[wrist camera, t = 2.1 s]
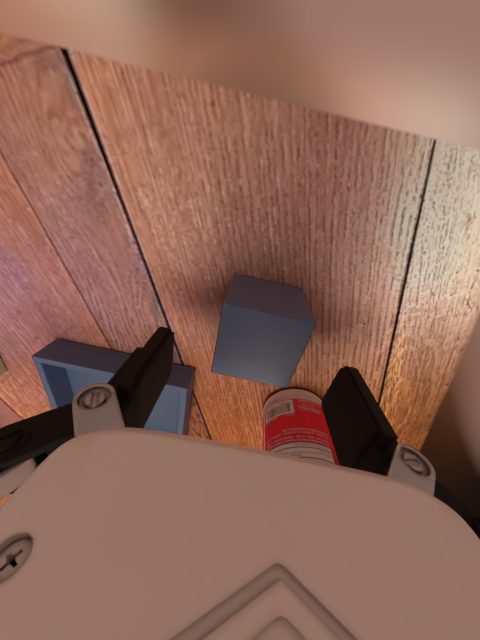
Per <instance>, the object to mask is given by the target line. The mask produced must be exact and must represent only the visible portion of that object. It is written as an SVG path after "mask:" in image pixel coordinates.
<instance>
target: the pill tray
mask: <svg viewBox="0 0 480 640" xmlns="http://www.w3.org/2000/svg"><path fill="white" fill-rule="evenodd" d="M6 371H7V369H6V367H5V365H4V363H3V361H2V359H1V357H0V375H1V374H3V373H5V372H6Z"/></svg>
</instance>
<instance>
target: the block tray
mask: <svg viewBox="0 0 480 640" xmlns="http://www.w3.org/2000/svg"><path fill="white" fill-rule="evenodd" d="M130 355H131V354H127V353H123V352H118V351H113V350H109V349H104V348H99V347H94V346H90V345H85V344H80V343H76V342H71V341H66V340H62V339H56V340H54V341H53V342H52V343H50V344H49V345H47V346H46V347H44V348H43V349H41V350H40V351H38V352H37V353H36V354H34V355H33V356H32V358H33V361H34V363H35V366H36V368H37V371H38V373H39V376H40V379H41V381H42V384H43V386H44V389H45V391H46V394H47V396H48V399H49V402H50V404H51V407H52V409H56V408H58V407H61V406H64V405H67V404H70V403H72V400H73V398H74V396H75V394H76V393H77V392H79V391H80V390H81V389H83V388H84V387H86V386H89V385H91V384H96V383H106V384H107V383H108V382H109V380H110V379H111V378H112V377H113V376H114V374H115V373H116V372H117V371H118V370H119V368H120V367H121V366H122V365H123V364H124V362H125V361H126V360H127V359H128V358H129V357H130ZM194 375H195V368H193V367H188V366H184V365H179V364H174V363H172V372H171V375H170V377H169V379H168V381H167V383H166V385H165V387H164V389H163V391H162V393H161V395H160V397H159V398H158V400H157V402H156V404H155V406H154V408H153V410H152V412H151V414H150V416H149V418H148V420H147V422H146V424H145V426H144V428H143V429H151V430H158V431H164V432H169V433H175V434H181V435H187V430H188V422H189V414H190V407H191V399H192V391H193V383H194Z"/></svg>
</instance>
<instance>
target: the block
mask: <svg viewBox="0 0 480 640" xmlns="http://www.w3.org/2000/svg"><path fill="white" fill-rule="evenodd" d="M315 326H316V322H315V320H314V317H313V315H312V313H311V310H310V308H309V306H308V303H307V301H306V298H305V296H304V294H303V291H302V289H301V288H297V287H292V286H288V285H283V284H279V283H275V282H270V281H266V280H261V279H257V278H252V277H248V276H243V275H239V274H234V275H233V278H232V281H231V283H230V286H229V289H228V292H227V294H226V297H225V300H224V303H223V307H222V313H221V319H220V324H219V330H218V335H217V341H216V347H215V352H214V358H213V363H212V369H211V372H214V373H218V374H223V375H228V376H232V377H237V378H242V379H246V380H251V381H256V382H260V383H265V384H270V385H275V386H279V387H284V388H287V387H288V385H289V383H290V381H291V378H292V376H293V374H294V372H295V370H296V367H297V365H298V363H299V361H300V359H301V356H302V354H303V352H304V350H305V348H306V345H307V343H308V341H309V339H310V337H311V334H312V332H313V330H314V328H315Z"/></svg>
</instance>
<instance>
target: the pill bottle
mask: <svg viewBox="0 0 480 640" xmlns="http://www.w3.org/2000/svg"><path fill="white" fill-rule="evenodd" d="M321 402H322V401H321V400H320V398H319V397H317V396H316V395H314V394H313V393H311V392H308V391H305V390H300V389H286V390H282V391H279V392H277V393H275V394H274V395H272V396H271V397H270V398H269V399H268V400H267V401H266V403H265V405H264V407H263V450H264V451H269V452H274V453H279V454H284V455H290V456H295V457H300V458H304V459H309V460H314V461H319V462H324V463H329V464H334V465H339V462H338V458H337V455H336V452H335V449H334V445H333V442H332V439H331V436H330V432H329V429H328V426H327V423H326V419H325V416H324V413H323V410H322V406H321ZM339 466H340V465H339Z"/></svg>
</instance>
